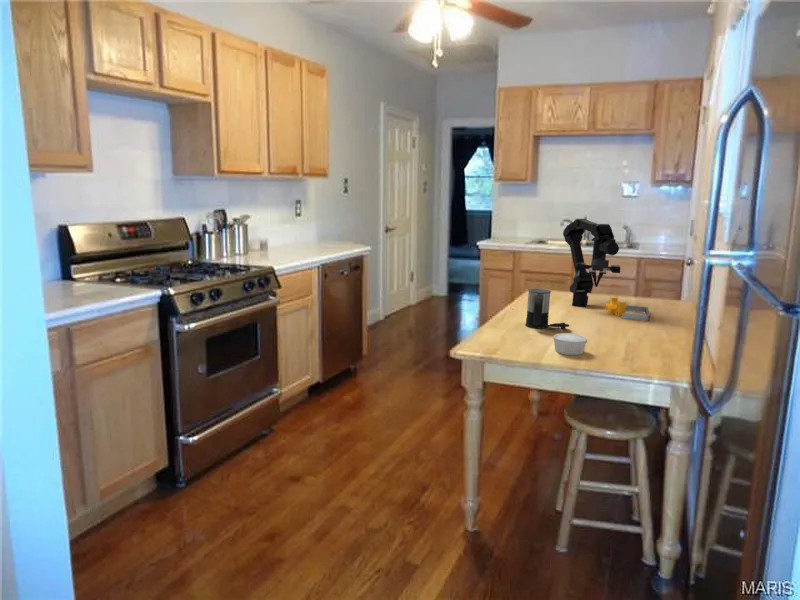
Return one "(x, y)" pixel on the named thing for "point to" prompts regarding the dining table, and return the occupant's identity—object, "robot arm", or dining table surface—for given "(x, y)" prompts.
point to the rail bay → (636, 316)
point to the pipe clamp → (616, 306)
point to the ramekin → (569, 344)
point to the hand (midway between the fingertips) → (596, 286)
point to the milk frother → (539, 309)
